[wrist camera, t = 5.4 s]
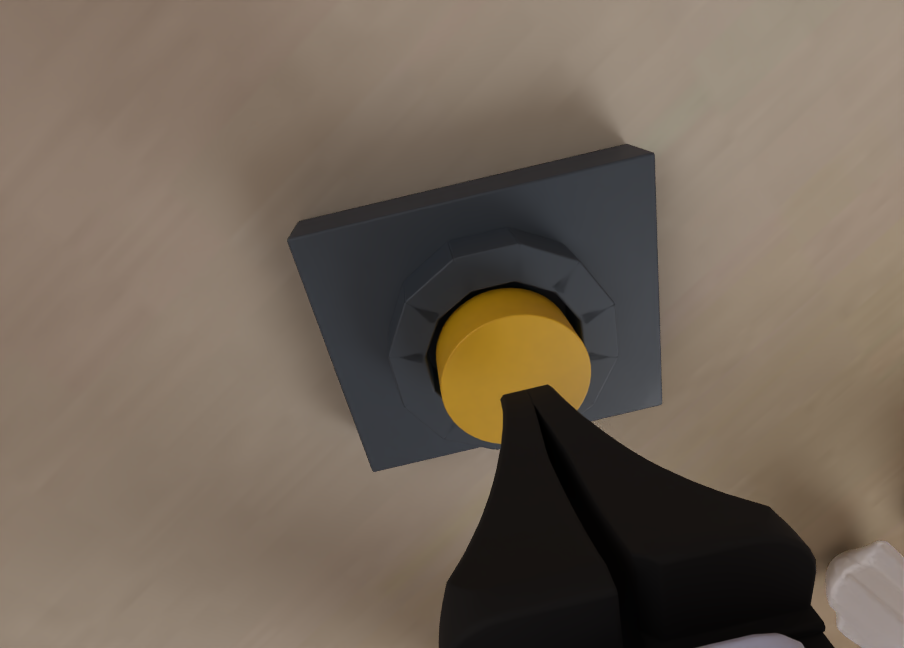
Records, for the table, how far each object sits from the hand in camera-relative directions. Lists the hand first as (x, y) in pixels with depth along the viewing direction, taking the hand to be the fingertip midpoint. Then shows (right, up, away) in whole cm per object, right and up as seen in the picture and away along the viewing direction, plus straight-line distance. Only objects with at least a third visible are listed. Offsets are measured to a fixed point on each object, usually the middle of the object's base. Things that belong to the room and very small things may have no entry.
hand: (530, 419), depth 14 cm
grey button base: (-1, +3, +7) cm, 7 cm away
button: (0, +2, +3) cm, 4 cm away
